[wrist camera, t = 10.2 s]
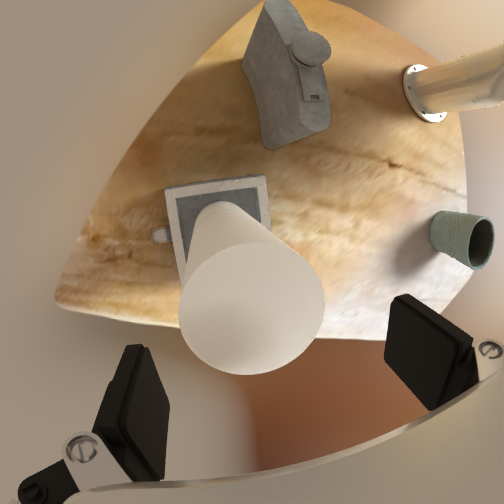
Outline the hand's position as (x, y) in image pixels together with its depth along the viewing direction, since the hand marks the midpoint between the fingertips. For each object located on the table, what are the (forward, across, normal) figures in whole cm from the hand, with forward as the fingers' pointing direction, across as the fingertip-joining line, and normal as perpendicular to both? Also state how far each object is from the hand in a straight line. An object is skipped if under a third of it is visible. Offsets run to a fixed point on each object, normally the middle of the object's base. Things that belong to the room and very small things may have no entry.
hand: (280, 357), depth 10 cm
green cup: (+35, -44, +8) cm, 56 cm away
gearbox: (+34, +2, +1) cm, 34 cm away
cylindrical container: (+29, +1, 0) cm, 29 cm away
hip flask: (+34, -8, -18) cm, 39 cm away
